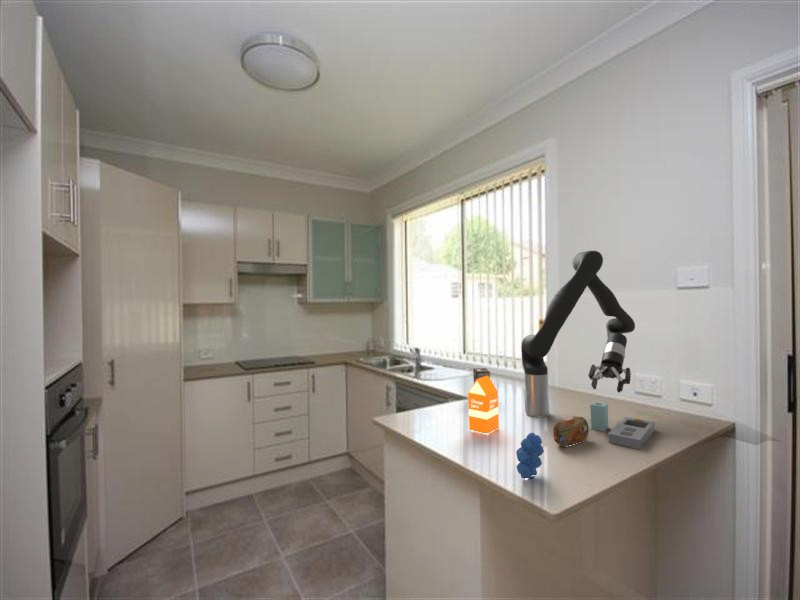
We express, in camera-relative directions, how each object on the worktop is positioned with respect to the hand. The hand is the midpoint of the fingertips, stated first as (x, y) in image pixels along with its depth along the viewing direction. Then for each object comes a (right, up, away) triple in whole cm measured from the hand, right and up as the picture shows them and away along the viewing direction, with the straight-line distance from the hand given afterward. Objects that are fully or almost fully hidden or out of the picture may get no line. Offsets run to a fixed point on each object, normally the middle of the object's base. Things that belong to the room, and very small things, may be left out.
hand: (606, 389), depth 141 cm
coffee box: (-41, -14, +30) cm, 53 cm away
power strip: (+1, -13, -15) cm, 19 cm away
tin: (-22, -14, -19) cm, 32 cm away
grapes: (-44, -14, -40) cm, 61 cm away
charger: (-6, -13, -6) cm, 15 cm away
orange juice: (-48, -15, -4) cm, 50 cm away
